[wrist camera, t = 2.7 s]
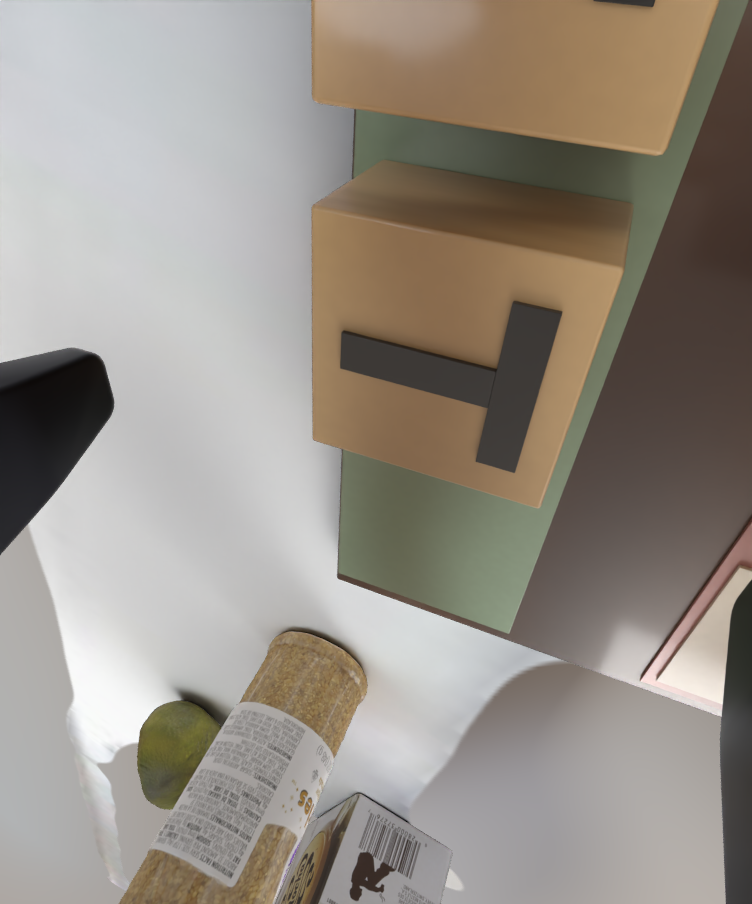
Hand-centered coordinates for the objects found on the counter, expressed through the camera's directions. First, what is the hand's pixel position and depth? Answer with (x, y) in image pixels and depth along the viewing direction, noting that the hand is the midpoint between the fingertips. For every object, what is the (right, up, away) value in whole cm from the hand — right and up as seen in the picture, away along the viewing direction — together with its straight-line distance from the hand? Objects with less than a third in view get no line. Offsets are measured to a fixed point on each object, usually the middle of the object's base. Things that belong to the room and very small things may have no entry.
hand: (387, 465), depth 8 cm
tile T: (+2, +3, +4) cm, 6 cm away
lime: (-10, -14, +25) cm, 30 cm away
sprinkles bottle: (-2, -8, +17) cm, 19 cm away
